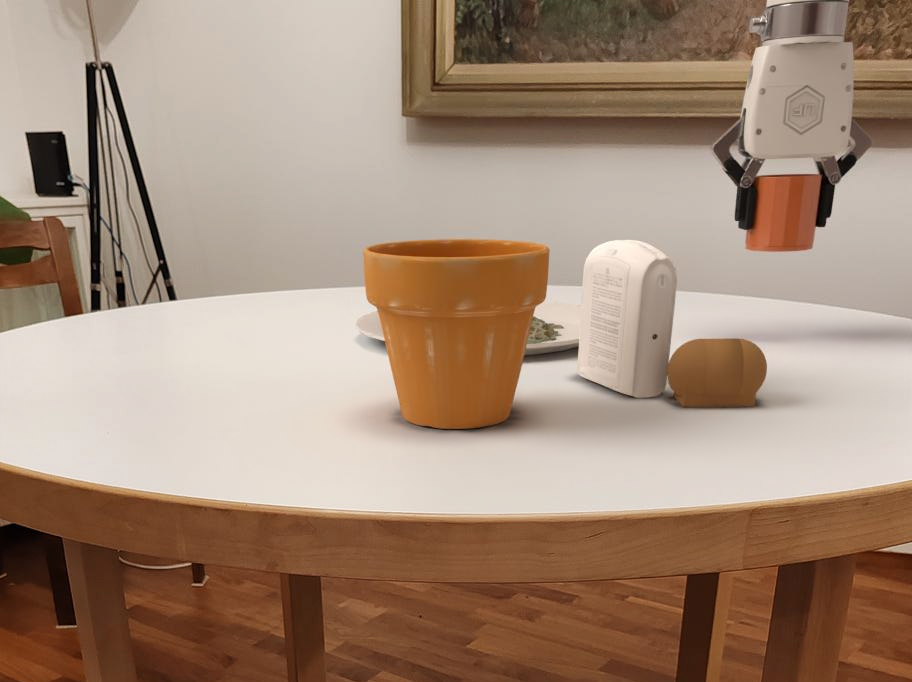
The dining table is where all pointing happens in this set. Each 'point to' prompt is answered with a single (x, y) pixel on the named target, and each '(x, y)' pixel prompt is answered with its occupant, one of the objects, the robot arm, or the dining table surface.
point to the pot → (784, 212)
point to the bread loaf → (717, 373)
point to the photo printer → (627, 317)
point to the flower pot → (456, 323)
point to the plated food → (547, 333)
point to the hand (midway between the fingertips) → (781, 226)
